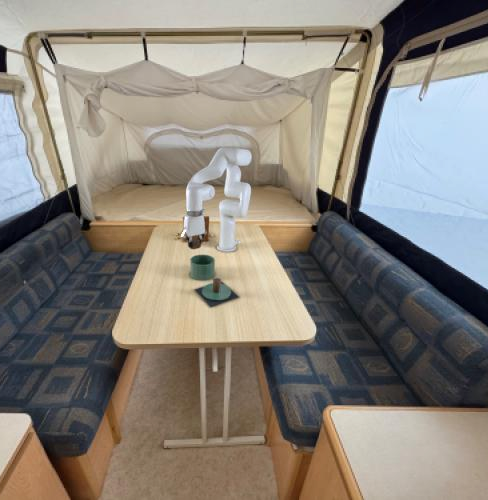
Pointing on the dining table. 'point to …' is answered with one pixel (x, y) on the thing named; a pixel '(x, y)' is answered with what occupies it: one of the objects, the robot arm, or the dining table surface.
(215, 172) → the robot arm
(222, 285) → the lid
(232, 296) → the mat
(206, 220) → the game set
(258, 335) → the dining table surface
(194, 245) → the block
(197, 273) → the canister
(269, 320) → the dining table surface
